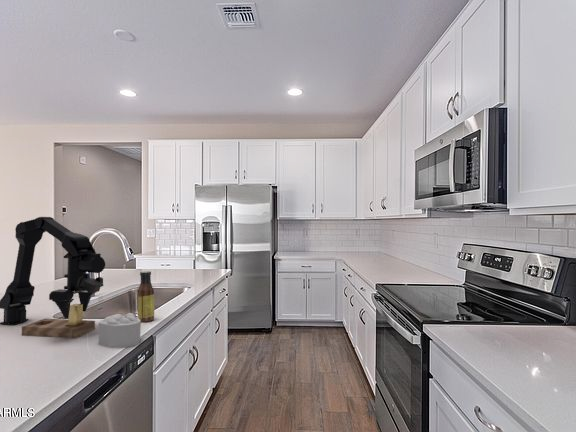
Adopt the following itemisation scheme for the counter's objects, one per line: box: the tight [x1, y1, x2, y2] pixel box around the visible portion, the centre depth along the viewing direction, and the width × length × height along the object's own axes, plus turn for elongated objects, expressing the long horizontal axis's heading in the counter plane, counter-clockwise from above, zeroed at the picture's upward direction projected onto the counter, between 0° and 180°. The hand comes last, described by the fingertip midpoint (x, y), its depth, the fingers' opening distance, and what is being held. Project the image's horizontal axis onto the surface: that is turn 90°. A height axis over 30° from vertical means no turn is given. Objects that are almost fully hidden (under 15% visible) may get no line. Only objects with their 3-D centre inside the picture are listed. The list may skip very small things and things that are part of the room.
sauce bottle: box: [137, 270, 155, 323], centre depth 139 cm, size 7×6×20 cm
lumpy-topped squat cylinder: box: [98, 312, 142, 349], centre depth 115 cm, size 10×13×9 cm
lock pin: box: [68, 303, 84, 327], centre depth 122 cm, size 3×3×10 cm
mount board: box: [21, 318, 96, 339], centre depth 123 cm, size 20×10×3 cm, turn 85°
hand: (75, 314), depth 122 cm, fingers open, 9 cm apart
